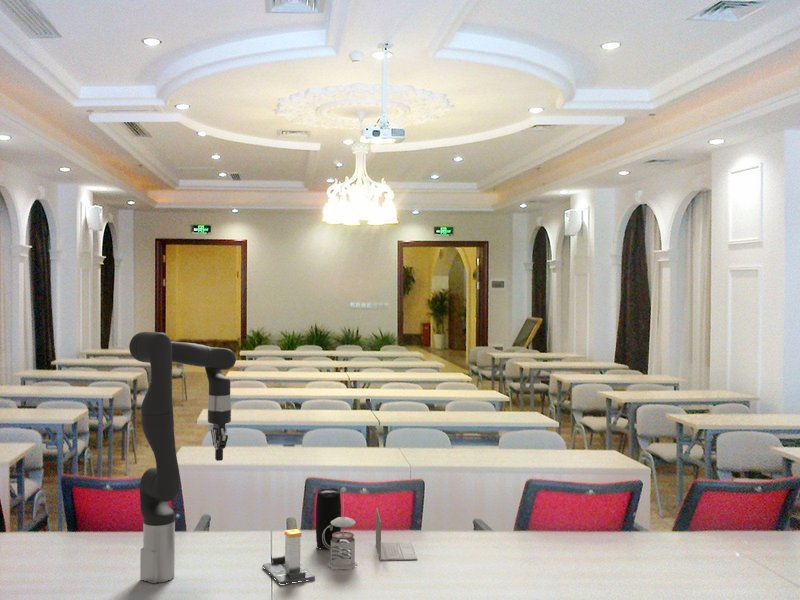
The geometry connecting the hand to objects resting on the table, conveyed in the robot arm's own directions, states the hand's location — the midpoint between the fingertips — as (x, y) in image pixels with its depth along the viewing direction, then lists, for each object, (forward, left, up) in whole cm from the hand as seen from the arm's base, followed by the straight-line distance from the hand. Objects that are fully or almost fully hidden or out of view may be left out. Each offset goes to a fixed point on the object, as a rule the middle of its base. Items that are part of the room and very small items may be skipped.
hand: (219, 460), depth 277 cm
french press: (+14, -40, -31) cm, 53 cm away
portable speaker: (+26, -26, -31) cm, 48 cm away
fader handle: (-4, -35, -29) cm, 46 cm away
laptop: (+35, -48, -32) cm, 67 cm away
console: (-2, -32, -31) cm, 45 cm away
